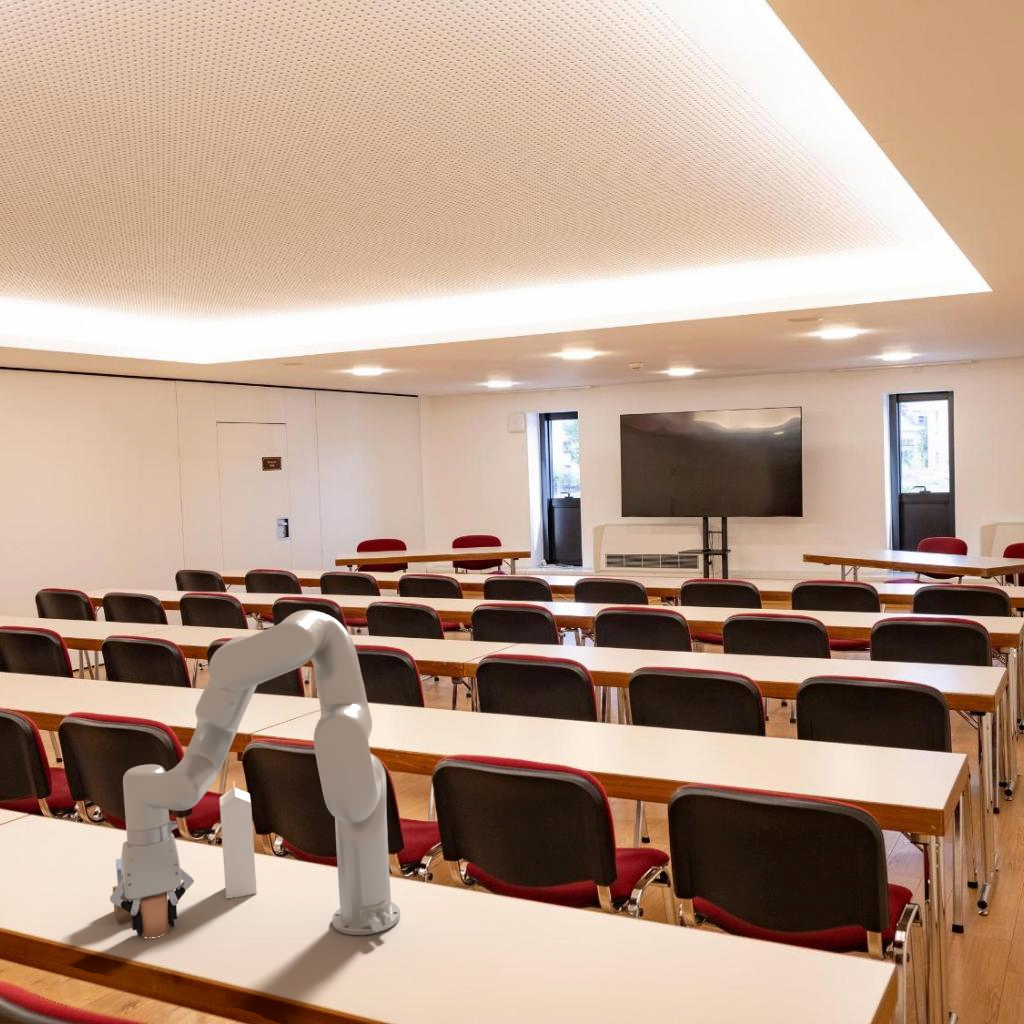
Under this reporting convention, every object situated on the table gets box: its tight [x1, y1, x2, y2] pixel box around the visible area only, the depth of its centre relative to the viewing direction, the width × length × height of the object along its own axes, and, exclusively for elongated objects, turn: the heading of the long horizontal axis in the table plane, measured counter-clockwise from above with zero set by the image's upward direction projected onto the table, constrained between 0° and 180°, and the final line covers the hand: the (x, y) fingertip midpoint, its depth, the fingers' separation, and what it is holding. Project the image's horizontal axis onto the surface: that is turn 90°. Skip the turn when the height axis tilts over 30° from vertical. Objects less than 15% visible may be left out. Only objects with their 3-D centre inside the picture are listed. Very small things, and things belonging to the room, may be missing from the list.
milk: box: [219, 780, 258, 900], centre depth 202 cm, size 6×6×22 cm
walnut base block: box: [112, 885, 139, 925], centre depth 194 cm, size 7×7×5 cm
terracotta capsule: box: [139, 892, 171, 938], centre depth 186 cm, size 5×5×7 cm
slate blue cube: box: [115, 858, 125, 897], centre depth 194 cm, size 6×6×6 cm
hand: (155, 927), depth 186 cm, fingers open, 5 cm apart
